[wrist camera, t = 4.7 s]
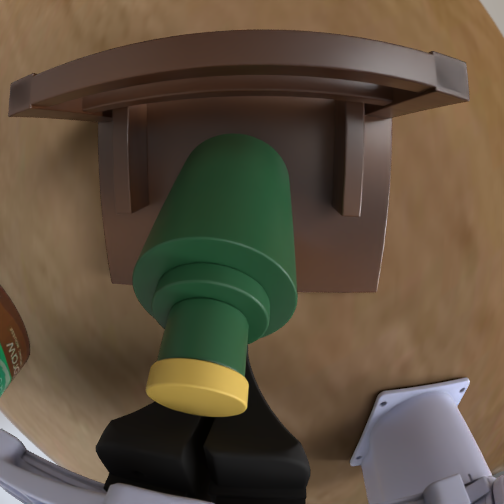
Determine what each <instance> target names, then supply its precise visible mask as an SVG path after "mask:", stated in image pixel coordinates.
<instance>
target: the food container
mask: <svg viewBox="0 0 504 504" xmlns="http://www.w3.org/2000/svg"><path fill="white" fill-rule="evenodd" d="M29 355H30V344H29V338H28V335H27V332H26V329H25V326H24V324H23V321H22V319H21V317H20V315H19V313H18V311H17V309H16V307H15V306H14V304H13V303H12V301H11V299H10V298H9V296H8V295H7V294H6V292H5V291H4V289H3V288H2V287H1V286H0V397H1V395H2V394H3V392H4V391H5V390H6V388H7V387H8V385H9V384H10V383H11V381H12V380H13V379H14V377H15V376H16V375H17V373H18V372H19V371H20V369H21V368H22V367H23V365H24V364H25V363H26V362H27V359H28V357H29Z"/></svg>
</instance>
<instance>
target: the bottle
mask: <svg viewBox="0 0 504 504" xmlns="http://www.w3.org/2000/svg"><path fill="white" fill-rule="evenodd" d="M132 283H133V288H134V292H135V294H136V297H137V298H138V300H139V302H140V303H141V305H142V306H143V307H144V309H145V310H146V311H147V312H148V313H149V314H150V315H151V316H153V317H154V318H155V319H156V320H157V322H158V323H159V324H160V325H161V326H162V327H163V328H164V329H165V331H164V334H163V338H162V342H161V346H160V350H159V354H158V359H157V362H155V363H154V364H153V365H152V366H151V368H150V372H149V376H148V381H147V385H146V393H147V395H148V396H149V397H150V398H151V399H152V400H154V401H155V402H157V403H159V404H161V405H163V406H165V407H168V408H170V409H173V410H176V411H180V412H183V413H187V414H192V415H198V416H207V417H228V416H234V415H238V414H241V413H243V412H244V411H245V410H246V409H247V402H248V388H249V384H248V381H247V380H246V378H245V368H246V355H247V344H250V343H252V342H254V341H256V340H258V339H259V338H262V337H265V336H267V335H270V334H272V333H273V332H275V331H277V330H278V329H280V328H281V327H283V326H284V325H285V324H286V323H287V322H288V321H289V319H290V318H291V317H292V315H293V313H294V311H295V309H296V305H297V279H296V262H295V246H294V232H293V218H292V205H291V193H290V182H289V174H288V170H287V167H286V165H285V163H284V161H283V159H282V158H281V156H280V155H279V154H278V153H277V152H276V151H275V150H274V149H273V148H272V147H271V146H270V145H268V144H267V143H265V142H263V141H262V140H260V139H257V138H255V137H252V136H249V135H244V134H233V133H231V134H222V135H218V136H215V137H212V138H209V139H207V140H205V141H204V142H202V143H201V144H199V145H198V146H197V147H196V148H195V149H194V150H193V151H192V152H191V153H190V155H189V156H188V158H187V160H186V162H185V163H184V165H183V167H182V169H181V171H180V173H179V175H178V177H177V178H176V180H175V182H174V184H173V186H172V188H171V190H170V192H169V194H168V196H167V198H166V200H165V202H164V204H163V206H162V208H161V210H160V212H159V214H158V216H157V218H156V220H155V222H154V225H153V227H152V229H151V231H150V233H149V235H148V237H147V240H146V242H145V244H144V246H143V249H142V251H141V253H140V255H139V258H138V260H137V262H136V264H135V267H134V270H133V275H132Z"/></svg>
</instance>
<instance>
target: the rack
mask: <svg viewBox="0 0 504 504" xmlns="http://www.w3.org/2000/svg"><path fill="white" fill-rule="evenodd" d="M467 101H469V86H468V76H467V67H466V63H465V62H463V61H461V60H458V59H455V58H452V57H449V56H446V55H443V54H440V53H437V52H434V51H431V52H429V53H426V52H423V51H419V50H416V49H412V48H408V47H404V46H400V45H396V44H391V43H387V42H382V41H377V40H372V39H366V38H360V37H354V36H347V35H340V34H331V33H322V32H311V31H296V30H231V31H216V32H204V33H195V34H187V35H179V36H172V37H166V38H160V39H154V40H149V41H144V42H139V43H135V44H130V45H126V46H122V47H118V48H114V49H110V50H106V51H103V52H99V53H96V54H92V55H89V56H86V57H83V58H80V59H77V60H74V61H71V62H68V63H65V64H62V65H60V66H57V67H54V68H52V69H49V70H47V71H44V72H42V73H39V74H35V73H32V74H30V75H28V76H26V77H24V78H21V79H19V80H17V81H15V82H13V83H11V87H10V98H9V113H8V116H9V117H35V118H54V119H68V120H80V121H90V122H98V155H99V179H100V194H101V206H102V217H103V226H104V235H105V243H106V250H107V257H108V264H109V270H110V276H111V282H112V283H113V284H127V285H133V283H132V275H133V270H134V267H135V264H136V262H137V260H138V258H139V255H140V253H141V251H142V249H143V246H144V244H145V242H146V240H147V237H148V235H149V233H150V231H151V229H152V227H153V225H154V222H155V220H156V218H157V216H158V214H159V212H160V210H161V208H162V206H163V204H164V202H165V200H166V198H167V196H168V194H169V192H170V190H171V188H172V186H173V184H174V182H175V180H176V178H177V177H178V175H179V173H180V171H181V169H182V167H183V165H184V163H185V162H186V160H187V158H188V156H189V155H190V153H191V152H192V151H193V150H194V149H195V148H196V147H197V146H198V145H199V144H201V143H202V142H204V141H205V140H207V139H209V138H212V137H215V136H218V135H222V134H231V133H233V134H244V135H249V136H252V137H255V138H257V139H260V140H262V141H263V142H265V143H267V144H268V145H270V146H271V147H272V148H273V149H274V150H275V151H276V152H277V153H278V154H279V155H280V156H281V158H282V159H283V161H284V163H285V165H286V167H287V170H288V174H289V182H290V193H291V205H292V218H293V232H294V246H295V262H296V279H297V292H377V287H378V281H379V275H380V269H381V263H382V256H383V249H384V241H385V233H386V224H387V214H388V204H389V191H390V176H391V154H392V118H393V117H397V116H401V115H406V114H410V113H414V112H418V111H423V110H427V109H432V108H436V107H441V106H446V105H451V104H456V103H462V102H467Z"/></svg>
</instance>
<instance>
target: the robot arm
mask: <svg viewBox="0 0 504 504" xmlns="http://www.w3.org/2000/svg"><path fill="white" fill-rule="evenodd" d="M245 378H246V380H247V381H248V384H249V388H248V402H247V409H246V410H245V411H244V412H243V413H241V414H238V415H234V416H228V417H207V416H198V415H192V414H187V413H183V412H180V411H176V410H173V409H170V408H168V407H165V406H163V405H161V404H159V403H157V402H153V403H151V404H149V405H148V406H146V407H144V408H142V409H140V410H137V411H135V412H133V413H131V414H128V415H125V416H123V417H120V418H117V419H114V420H111V421H110V423H109V424H108V426H107V427H106V429H105V430H104V432H103V434H102V436H101V438H100V440H99V442H98V443H97V445H96V452H97V454H98V456H99V458H100V460H101V461H102V463H103V464H104V466H105V467H106V468H107V470H108V471H109V476H108V478H107V480H106V482H105V484H103V483H100V482H97V481H95V480H92V479H89V478H87V477H84V476H82V475H79V474H77V473H74V472H72V471H69V470H67V469H65V468H62V467H60V466H58V465H56V464H54V463H51V462H49V461H47V460H45V459H43V458H41V457H39V456H37V455H35V454H34V453H31V452H29V451H28V450H26V448H25V446H24V445H23V443H22V442H21V441H20V440H19V439H17V438H16V437H15V436H13V435H11V434H10V433H8V432H6V431H4V430H3V429H0V486H1V487H2V488H3V489H4V490H5V491H6V492H8V493H9V494H11V495H12V496H14V497H15V498H16V499H18V500H19V501H21V502H22V503H24V504H305V499H306V486H307V483H308V480H309V478H310V466H309V462H308V459H307V456H306V454H305V451H304V449H303V447H302V445H301V443H300V442H299V441H298V440H297V439H296V438H295V437H294V436H293V435H292V434H291V433H290V432H289V431H288V430H287V429H286V428H285V427H284V425H283V424H282V423H281V422H280V421H279V419H278V418H277V417H276V415H275V414H274V413H273V411H272V410H271V408H270V407H269V405H268V404H267V402H266V400H265V399H264V397H263V395H262V393H261V391H260V389H259V387H258V385H257V382H256V380H255V378H254V375H253V372H252V369H251V366H250V362H249V357H248V345H247V355H246V368H245ZM469 383H470V381H469V379H468V378H461V379H457V380H452V381H447V382H441V383H436V384H430V385H424V386H418V387H411V388H404V389H396V390H388V391H383V392H381V393H380V394H379V395H378V396H377V398H376V401H375V404H374V406H373V409H372V412H371V414H370V417H369V419H368V422H367V424H366V426H365V429H364V431H363V433H362V436H361V438H360V440H359V443H358V445H357V447H356V449H355V451H354V453H353V456H352V458H351V460H350V465H351V466H358V465H361V467H362V472H363V477H364V482H365V487H366V492H367V497H368V503H369V504H504V475H501V476H499V477H498V478H494V477H493V476H492V474H491V472H490V470H489V468H488V466H487V464H486V461H485V459H484V457H483V455H482V453H481V451H480V449H479V447H478V445H477V443H476V441H475V439H474V438H473V436H472V434H471V432H470V430H469V428H468V426H467V424H466V422H465V421H464V419H463V417H462V415H461V413H460V412H459V410H458V408H457V406H458V404H459V402H460V400H461V399H462V397H463V395H464V393H465V391H466V389H467V387H468V385H469Z"/></svg>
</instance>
